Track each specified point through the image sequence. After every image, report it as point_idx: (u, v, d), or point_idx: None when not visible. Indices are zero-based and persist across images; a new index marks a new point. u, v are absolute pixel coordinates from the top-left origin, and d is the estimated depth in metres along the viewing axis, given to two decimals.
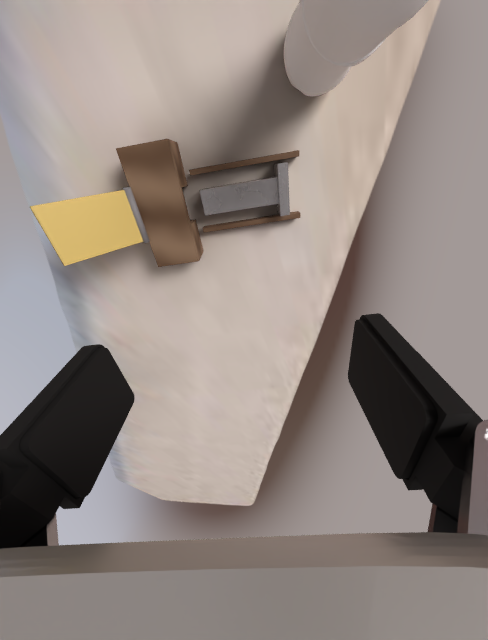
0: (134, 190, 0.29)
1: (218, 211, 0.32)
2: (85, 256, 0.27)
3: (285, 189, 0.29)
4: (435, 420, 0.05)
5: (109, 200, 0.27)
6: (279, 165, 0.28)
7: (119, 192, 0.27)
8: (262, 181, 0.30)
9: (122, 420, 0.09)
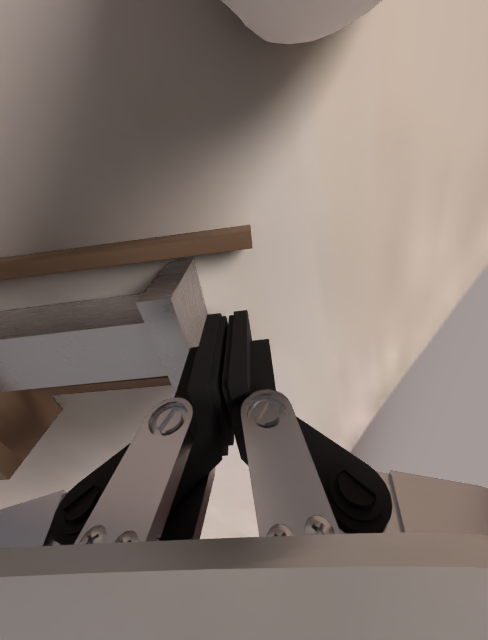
0: None
1: (18, 387, 0.12)
2: None
3: (180, 361, 0.09)
4: (228, 391, 0.06)
5: None
6: (144, 306, 0.08)
7: None
8: (115, 330, 0.10)
9: None
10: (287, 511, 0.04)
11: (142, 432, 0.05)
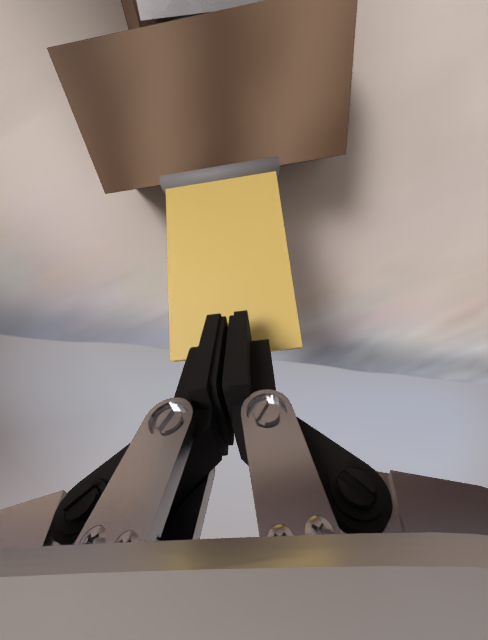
0: (172, 173, 0.13)
1: None
2: (288, 298, 0.11)
3: None
4: (228, 391, 0.06)
5: (179, 220, 0.12)
6: (143, 13, 0.11)
7: (169, 198, 0.13)
8: None
9: None
10: (287, 511, 0.04)
11: (142, 432, 0.05)
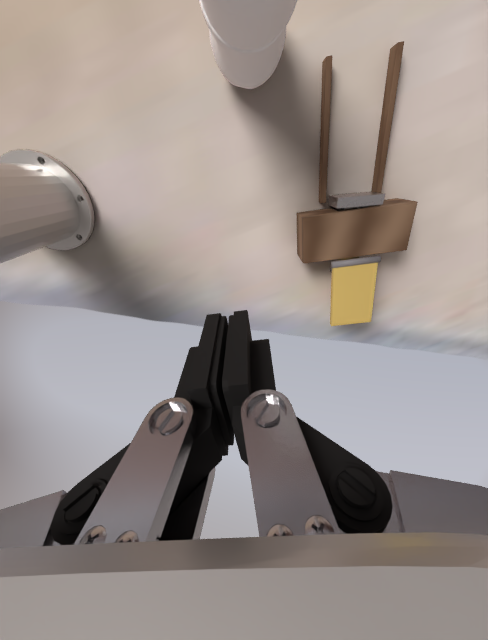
0: (334, 256, 0.33)
1: None
2: (370, 308, 0.36)
3: (359, 200, 0.30)
4: (228, 391, 0.06)
5: (338, 281, 0.34)
6: (338, 206, 0.30)
7: (334, 272, 0.33)
8: None
9: None
10: (287, 511, 0.04)
11: (142, 432, 0.05)
